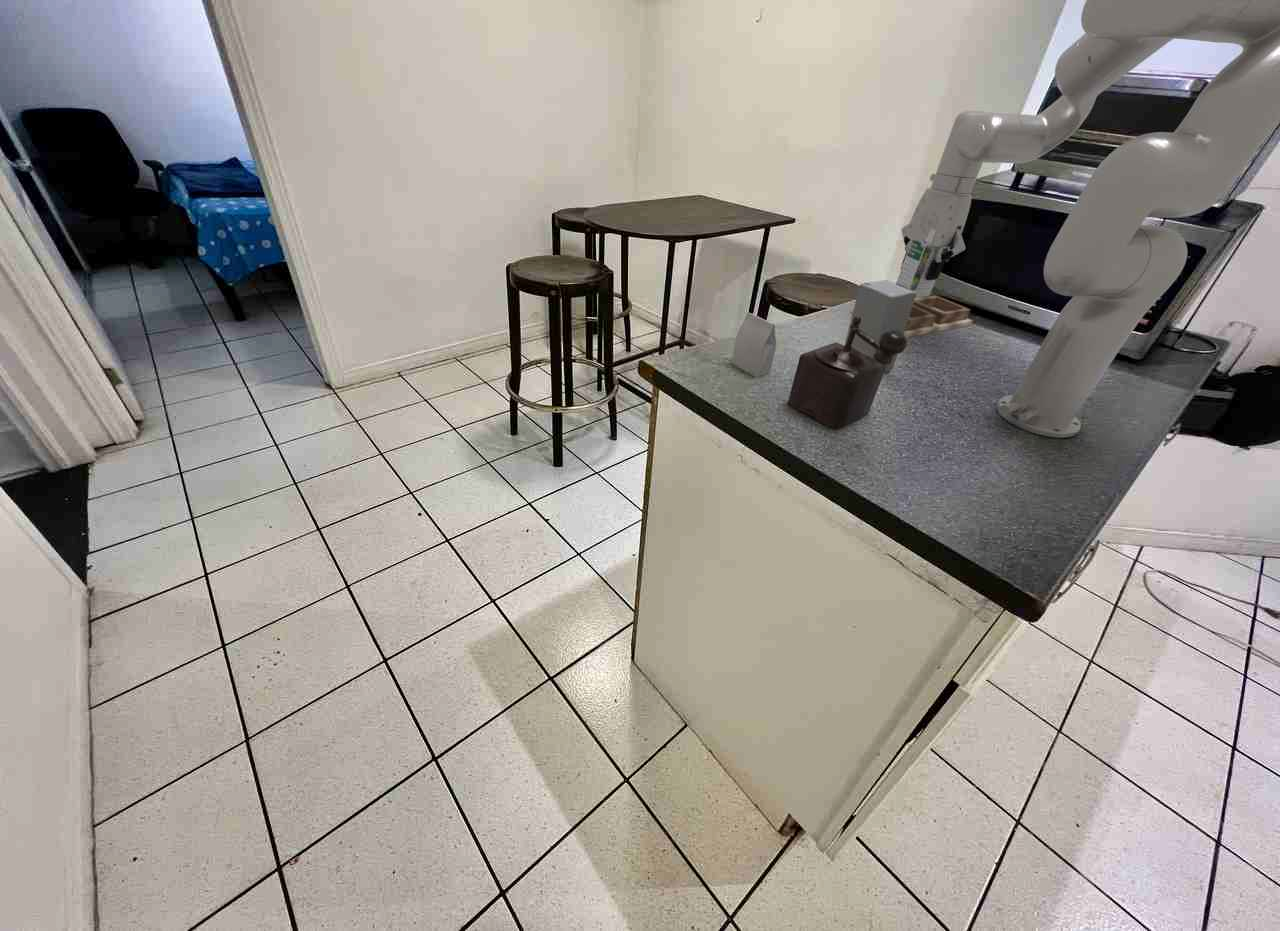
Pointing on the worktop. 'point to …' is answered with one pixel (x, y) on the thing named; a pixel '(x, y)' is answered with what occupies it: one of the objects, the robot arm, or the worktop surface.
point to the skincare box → (881, 313)
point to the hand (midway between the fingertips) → (918, 273)
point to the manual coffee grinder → (842, 378)
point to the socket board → (935, 316)
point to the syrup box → (918, 266)
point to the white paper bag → (755, 346)
